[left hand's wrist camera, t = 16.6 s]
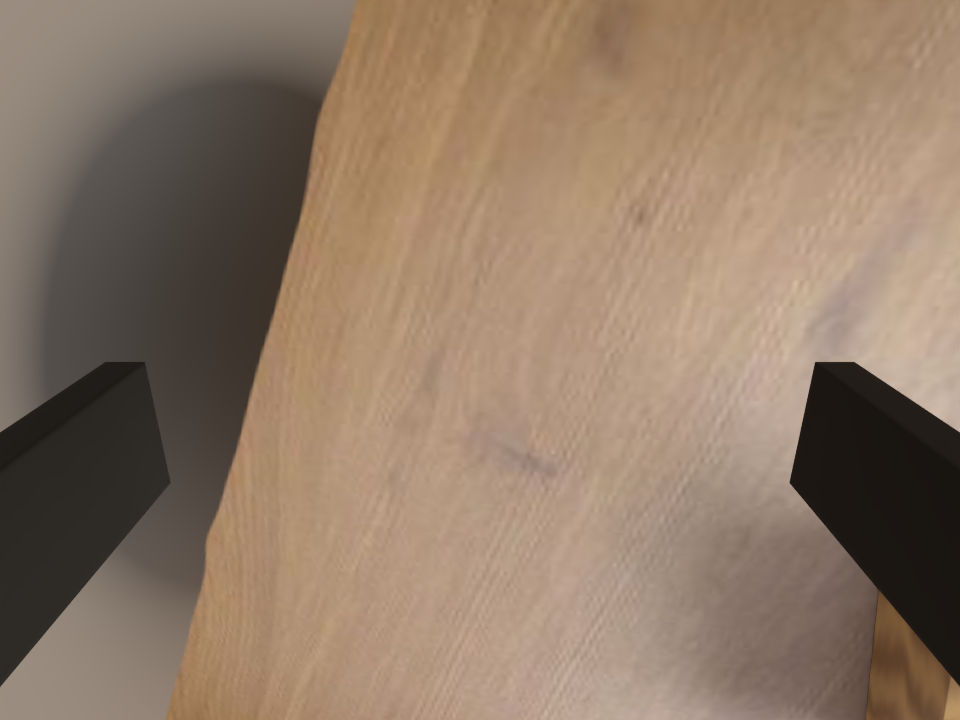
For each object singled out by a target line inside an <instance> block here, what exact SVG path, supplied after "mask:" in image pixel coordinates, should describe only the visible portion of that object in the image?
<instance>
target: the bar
mask: <svg viewBox="0 0 960 720" xmlns="http://www.w3.org/2000/svg"><path fill="white" fill-rule="evenodd" d="M866 720H960V686H959V685H958V684H957V683H956V682H955V680H954V679H953V678H952V677H951V676H950V674H949V673H948V672H947V671H946V670H945V668H944V667H943V666H942V665H941V664H940V662H939V661H938V660H937V659H936V658H935V656H934V655H933V654H932V653H931V652H930V650H929V649H928V648H927V647H926V646H925V645H924V643H923V642H922V641H921V640H920V639H919V637H918V636H917V635H916V634H915V633H914V631H913V630H912V629H911V628H910V627H909V625H908V624H907V623H906V622H905V621H904V619H903V618H902V617H901V616H900V615H899V613H898V612H897V611H896V610H895V609H894V607H893V606H892V605H891V604H890V603H889V601H888V600H887V599H886V598H885V597H884V595H883V594H882V593H881V592H880V591H879V593H878V603H877V613H876V623H875V632H874V642H873V652H872V662H871V671H870V681H869V691H868V701H867V710H866Z"/></svg>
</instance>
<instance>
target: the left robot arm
mask: <svg viewBox="0 0 960 720" xmlns="http://www.w3.org/2000/svg"><path fill="white" fill-rule="evenodd" d="M169 484H170V478H169V474H168V469H167V464H166V460H165V455H164V450H163V446H162V441H161V436H160V432H159V427H158V422H157V417H156V413H155V408H154V403H153V399H152V394H151V389H150V384H149V380H148V375H147V370H146V366H145V362H105V363H104V364H102V365H101V366H99V367H98V368H96V369H95V370H93V371H92V372H90V373H89V374H87V375H86V376H84V377H83V378H81V379H80V380H78V381H77V382H75V383H74V384H72V385H71V386H69V387H68V388H66V389H65V390H63V391H62V392H60V393H59V394H57V395H56V396H54V397H53V398H51V399H50V400H48V401H47V402H45V403H44V404H42V405H41V406H39V407H38V408H36V409H35V410H33V411H32V412H30V413H29V414H27V415H26V416H24V417H23V418H21V419H20V420H18V421H17V422H15V423H14V424H12V425H11V426H9V427H8V428H6V429H5V430H3V431H2V432H0V686H1V685H2V684H3V683H4V682H5V680H6V679H7V678H8V677H9V676H10V674H11V673H12V672H13V671H14V670H15V668H16V667H17V666H18V665H19V664H20V662H21V661H22V660H23V659H24V658H25V656H26V655H27V654H28V653H29V652H30V650H31V649H32V648H33V647H34V646H35V644H36V643H37V642H38V641H39V640H40V638H41V637H42V636H43V635H44V634H45V633H46V631H47V630H48V629H49V628H50V626H51V625H52V624H53V623H54V622H55V621H56V619H57V618H58V617H59V616H60V615H61V613H62V612H63V611H64V610H65V609H66V607H67V606H68V605H69V604H70V603H71V601H72V600H73V599H74V598H75V597H76V595H77V594H78V593H79V592H80V591H81V589H82V588H83V587H84V586H85V585H86V583H87V582H88V581H89V580H90V579H91V577H92V576H93V575H94V574H95V573H96V571H97V570H98V569H99V568H100V567H101V565H102V564H103V563H104V562H105V561H106V559H107V558H108V557H109V556H110V555H111V553H112V552H113V551H114V550H115V549H116V547H117V546H118V545H119V544H120V543H121V541H122V540H123V539H124V538H125V537H126V535H127V534H128V533H129V532H130V531H131V529H132V528H133V527H134V526H135V525H136V523H137V522H138V521H139V520H140V519H141V517H142V516H143V515H144V514H145V513H146V511H147V510H148V509H149V508H150V507H151V505H152V504H153V503H154V502H155V501H156V499H157V498H158V497H159V496H160V495H161V493H162V492H163V491H164V490H165V489H166V488H167V486H168V485H169ZM790 484H791V485H792V486H793V488H794V489H795V490H796V491H797V492H798V494H799V495H800V496H801V497H802V498H803V499H804V501H805V502H806V503H807V504H808V505H809V507H810V508H811V509H812V510H813V511H814V513H815V514H816V515H817V516H818V517H819V519H820V520H821V521H822V522H823V523H824V525H825V526H826V527H827V528H828V529H829V531H830V532H831V533H832V534H833V535H834V537H835V538H836V539H837V540H838V541H839V543H840V544H841V545H842V546H843V547H844V549H845V550H846V551H847V552H848V553H849V555H850V556H851V557H852V558H853V559H854V561H855V562H856V563H857V564H858V565H859V567H860V568H861V569H862V570H863V571H864V573H865V574H866V575H867V576H868V577H869V579H870V580H871V581H872V582H873V583H874V585H875V586H876V587H877V588H878V589H879V591H880V592H881V593H882V594H883V595H884V597H885V598H886V599H887V600H888V601H889V603H890V604H891V605H892V606H893V607H894V609H895V610H896V611H897V612H898V613H899V615H900V616H901V617H902V618H903V619H904V621H905V622H906V623H907V624H908V625H909V627H910V628H911V629H912V630H913V631H914V633H915V634H916V635H917V636H918V637H919V639H920V640H921V641H922V642H923V643H924V645H925V646H926V647H927V648H928V649H929V650H930V652H931V653H932V654H933V655H934V656H935V658H936V659H937V660H938V661H939V662H940V664H941V665H942V666H943V667H944V668H945V670H946V671H947V672H948V673H949V674H950V676H951V677H952V678H953V679H954V680H955V682H956V683H957V684H958V685H959V686H960V432H958V431H957V430H955V429H954V428H952V427H951V426H949V425H948V424H946V423H945V422H943V421H942V420H940V419H939V418H937V417H936V416H934V415H933V414H931V413H930V412H928V411H927V410H925V409H924V408H922V407H921V406H919V405H918V404H916V403H915V402H913V401H912V400H910V399H909V398H907V397H906V396H904V395H903V394H901V393H900V392H898V391H897V390H895V389H894V388H892V387H891V386H889V385H888V384H886V383H885V382H883V381H882V380H880V379H879V378H877V377H876V376H874V375H873V374H871V373H870V372H868V371H867V370H865V369H864V368H862V367H861V366H859V365H858V364H857V363H855V362H815V366H814V370H813V375H812V380H811V384H810V389H809V394H808V398H807V403H806V408H805V413H804V417H803V422H802V427H801V431H800V436H799V441H798V446H797V450H796V455H795V460H794V464H793V469H792V474H791V478H790Z"/></svg>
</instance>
